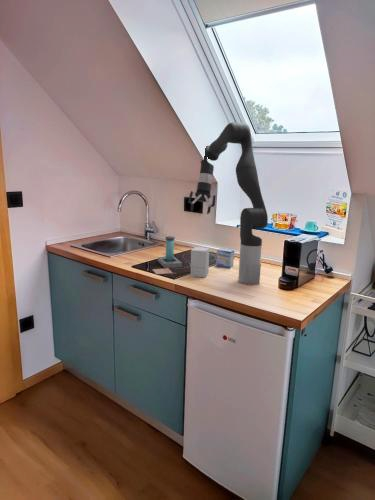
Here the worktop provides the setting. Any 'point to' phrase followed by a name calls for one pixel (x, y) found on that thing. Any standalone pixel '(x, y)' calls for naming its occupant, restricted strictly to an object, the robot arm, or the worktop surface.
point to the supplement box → (199, 262)
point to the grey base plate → (169, 263)
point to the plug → (169, 248)
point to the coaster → (162, 271)
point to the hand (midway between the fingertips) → (199, 212)
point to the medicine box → (225, 258)
